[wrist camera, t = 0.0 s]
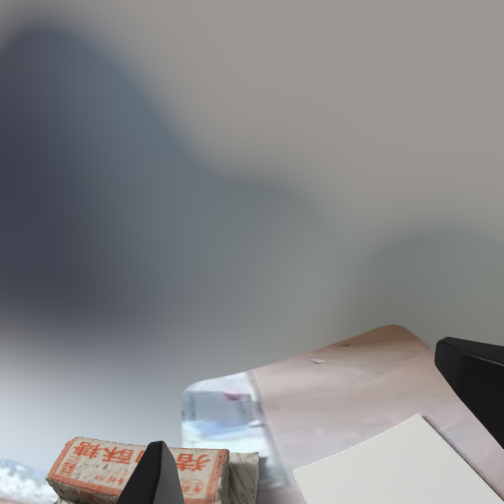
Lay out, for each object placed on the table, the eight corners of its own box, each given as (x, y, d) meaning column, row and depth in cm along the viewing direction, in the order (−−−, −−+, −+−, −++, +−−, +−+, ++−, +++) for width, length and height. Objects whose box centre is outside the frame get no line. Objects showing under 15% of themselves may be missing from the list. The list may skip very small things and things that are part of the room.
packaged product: (28, 489, 16) (73, 419, 25) (59, 517, 17) (95, 449, 27) (236, 535, 13) (251, 425, 23) (253, 555, 15) (262, 458, 24)
